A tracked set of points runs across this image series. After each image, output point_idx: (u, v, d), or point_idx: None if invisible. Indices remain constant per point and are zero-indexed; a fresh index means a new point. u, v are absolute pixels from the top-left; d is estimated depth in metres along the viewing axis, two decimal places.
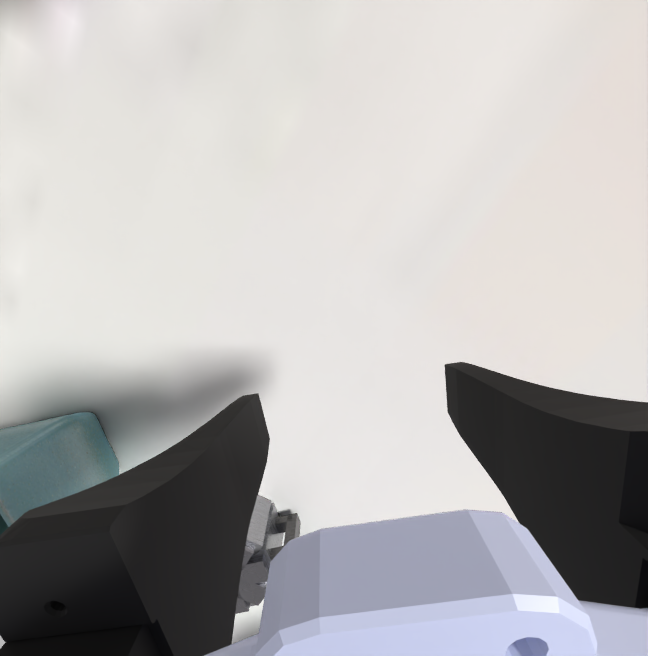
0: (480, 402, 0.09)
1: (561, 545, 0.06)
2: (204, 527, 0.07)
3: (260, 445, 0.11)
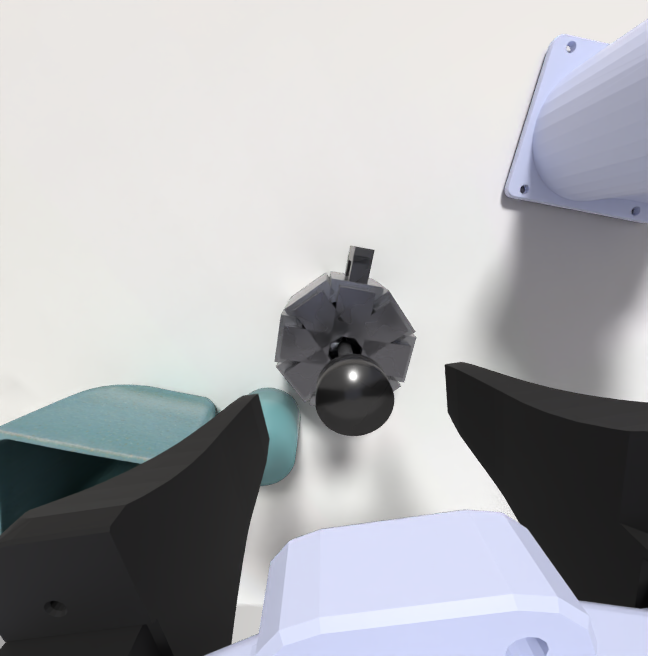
0: (480, 402, 0.09)
1: (561, 545, 0.06)
2: (204, 527, 0.07)
3: (260, 445, 0.11)
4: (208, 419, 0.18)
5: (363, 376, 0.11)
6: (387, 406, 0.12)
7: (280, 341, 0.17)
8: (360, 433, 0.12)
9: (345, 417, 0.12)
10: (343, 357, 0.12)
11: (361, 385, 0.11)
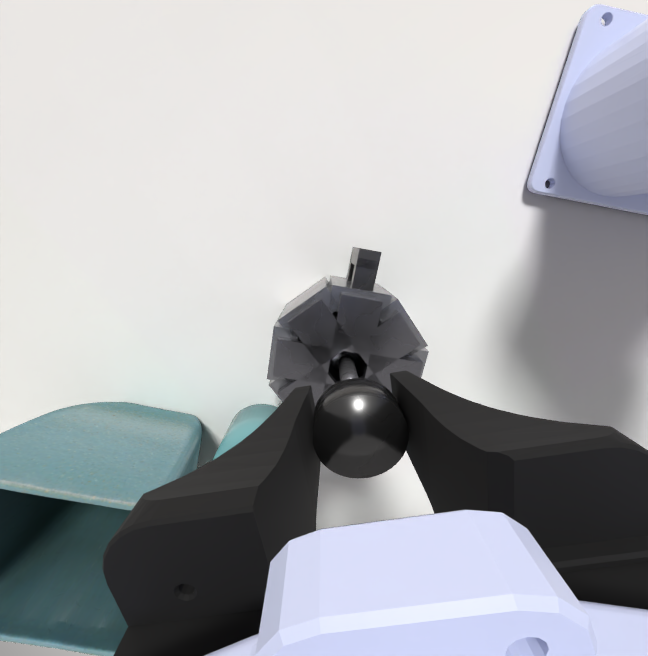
0: (411, 412, 0.09)
1: None
2: (295, 514, 0.07)
3: None
4: (191, 444, 0.16)
5: (371, 408, 0.09)
6: (400, 443, 0.10)
7: (273, 356, 0.15)
8: (367, 475, 0.10)
9: (350, 456, 0.10)
10: (346, 383, 0.10)
11: (369, 419, 0.09)
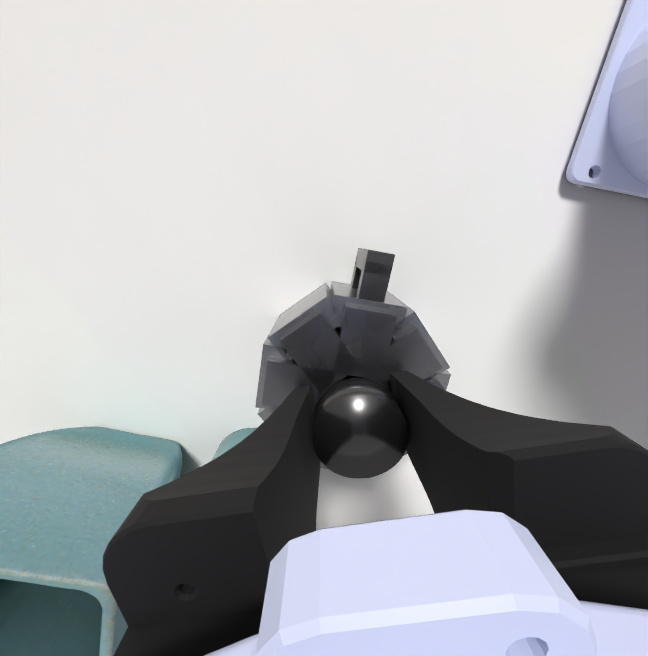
0: (411, 412, 0.09)
1: None
2: (296, 514, 0.07)
3: None
4: None
5: (371, 408, 0.09)
6: (400, 443, 0.10)
7: (263, 380, 0.12)
8: (367, 475, 0.10)
9: (350, 456, 0.10)
10: (346, 382, 0.10)
11: (369, 419, 0.09)
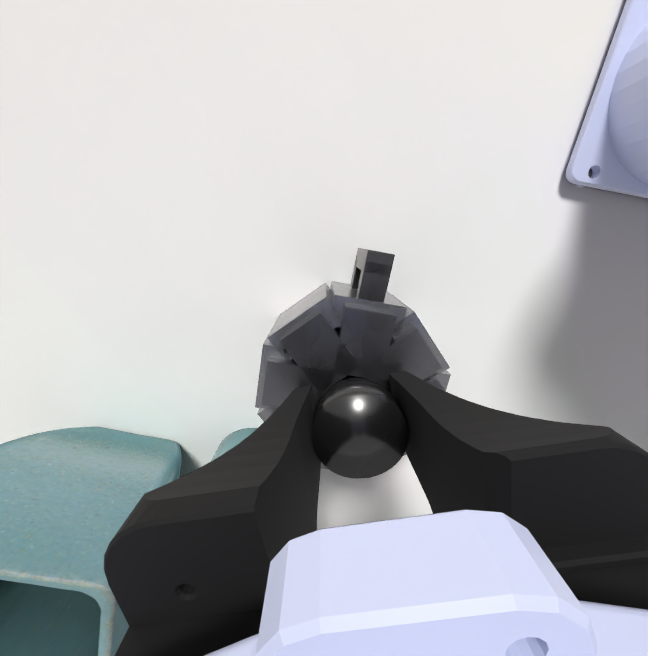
0: (410, 413, 0.09)
1: None
2: (296, 514, 0.07)
3: None
4: None
5: (371, 408, 0.09)
6: (400, 443, 0.10)
7: (262, 380, 0.12)
8: (367, 475, 0.10)
9: (349, 456, 0.10)
10: (346, 382, 0.10)
11: (369, 419, 0.09)
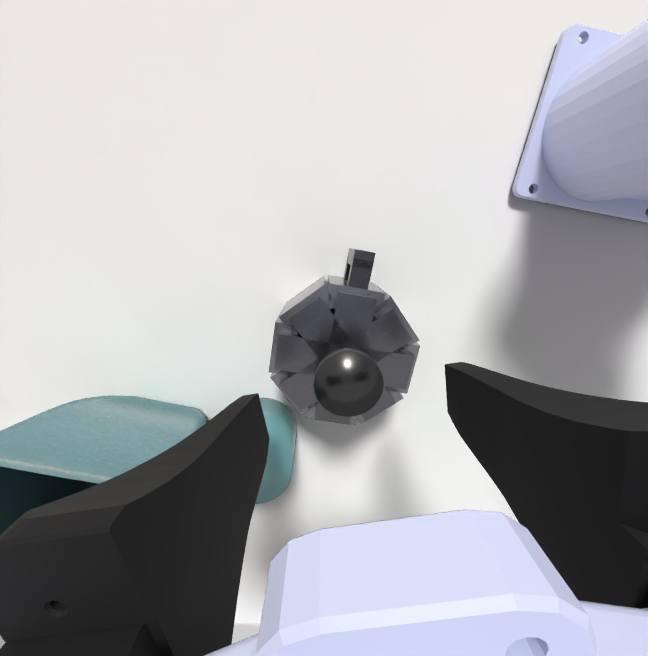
0: (480, 402, 0.09)
1: (561, 545, 0.06)
2: (204, 527, 0.07)
3: (260, 445, 0.11)
4: None
5: (356, 362, 0.13)
6: (377, 389, 0.13)
7: (275, 350, 0.16)
8: (354, 414, 0.13)
9: (341, 399, 0.13)
10: (338, 346, 0.14)
11: (354, 371, 0.13)
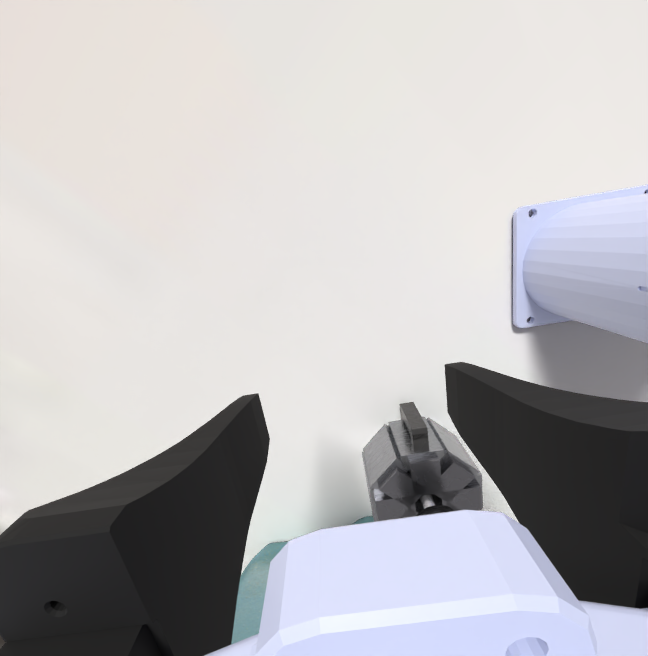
0: (480, 402, 0.09)
1: (561, 545, 0.06)
2: (204, 527, 0.07)
3: (260, 445, 0.11)
4: None
5: None
6: None
7: (374, 508, 0.21)
8: None
9: None
10: (426, 512, 0.18)
11: None
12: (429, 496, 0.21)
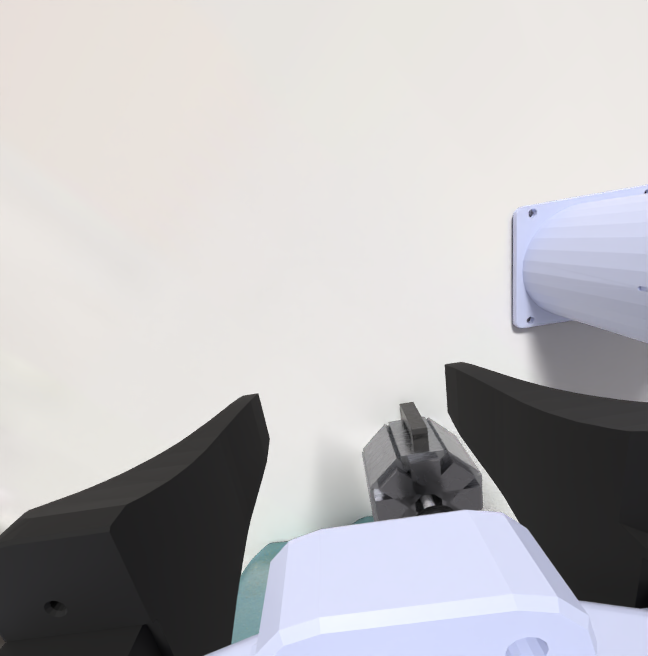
0: (480, 402, 0.09)
1: (561, 545, 0.06)
2: (204, 527, 0.07)
3: (260, 445, 0.11)
4: None
5: None
6: None
7: (374, 508, 0.21)
8: None
9: None
10: (426, 512, 0.18)
11: None
12: (429, 496, 0.21)
